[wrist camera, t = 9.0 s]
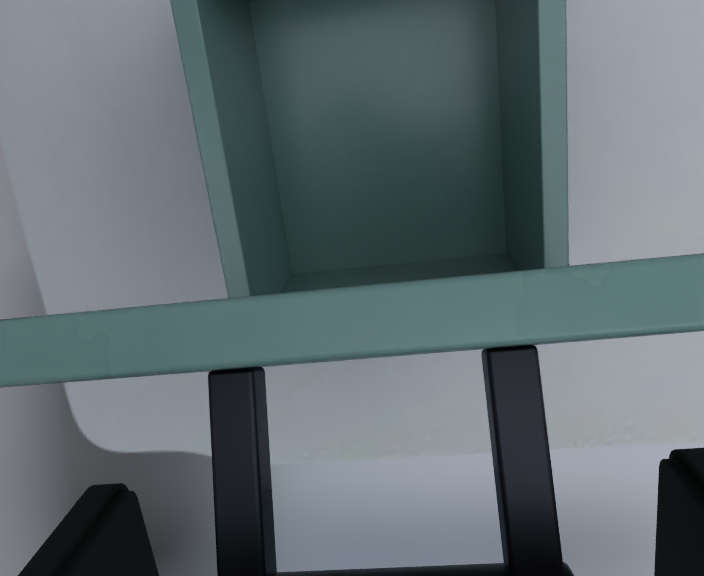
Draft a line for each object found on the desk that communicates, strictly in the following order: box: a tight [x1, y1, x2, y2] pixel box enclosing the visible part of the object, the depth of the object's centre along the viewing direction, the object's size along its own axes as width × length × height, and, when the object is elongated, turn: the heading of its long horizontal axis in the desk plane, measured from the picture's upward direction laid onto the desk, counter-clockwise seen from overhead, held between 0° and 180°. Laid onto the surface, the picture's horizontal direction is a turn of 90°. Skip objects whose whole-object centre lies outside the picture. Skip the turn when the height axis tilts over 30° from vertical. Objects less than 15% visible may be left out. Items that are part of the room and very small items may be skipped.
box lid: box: [0, 253, 704, 576], centre depth 14 cm, size 16×13×6 cm
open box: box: [170, 0, 569, 298], centre depth 24 cm, size 15×13×9 cm
